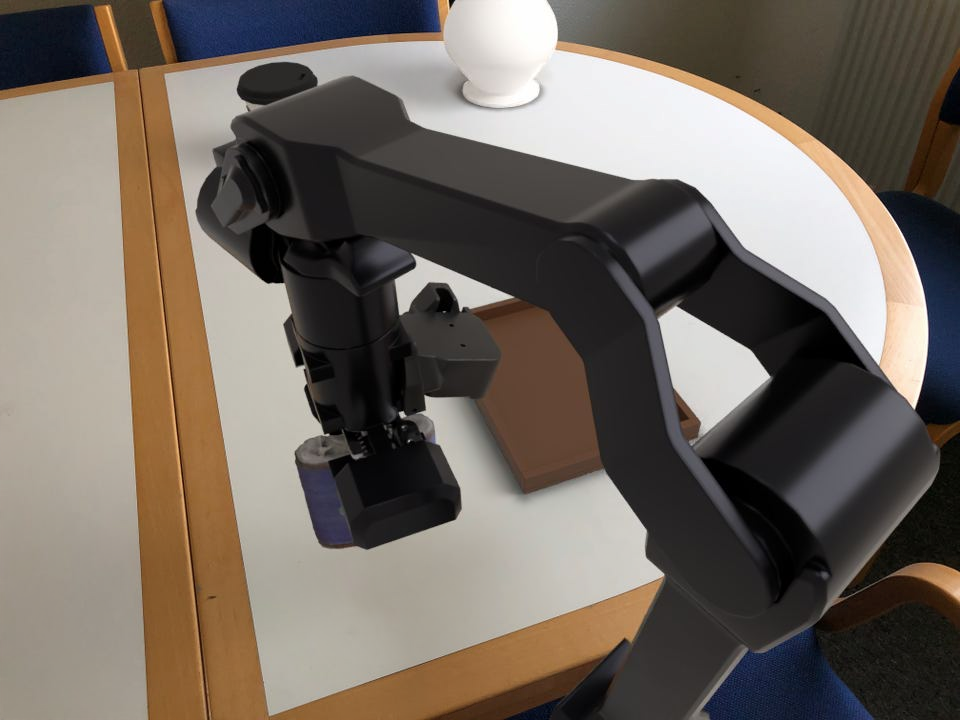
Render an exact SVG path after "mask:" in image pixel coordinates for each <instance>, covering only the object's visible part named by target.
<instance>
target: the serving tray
mask: <svg viewBox="0 0 960 720" xmlns="http://www.w3.org/2000/svg"><path fill="white" fill-rule="evenodd" d="M469 309H470V311H471V312H472V314H473V315H475V316H477V317H478V318H480V319H481V320H482V321H483V323H484V324H485V326H486V327H487V329H488V331H489V332H490V334H491V335H492V337H493V339H494V340H495V342H496V343H497V345H498V347H499V348H500V350H501V352H502V356H501V359H500V361H499V364H498V366H497V369H496V372H495V374H494V377H493V379H492V382H491V384H490V387H489V389H488V392H487V394H486V396H485V397H484V398H481V399H473V400H474V401H475V404H476V405H477V407H478V410H479V411H480V413H481V414H482V417H483V419H484V421H485V422H486V425H487V427H488V428H489V431H490V432H491V433H492V436H493V437H494V439H495V441H496V443H497V445H498V447H499V449H500V451H501V453H502V455H503V456H504V459H505V460H506V462H507V464H508V466H509V467H510V470H511V472H512V474H513V476H514V478H515V479H516V481H517V484H518V485H519V487H520V488H521V491H522V493H523V494H524V495H526V494H530V493H532V492H536V491H539V490H541V489H545V488H548V487H551V486H553V485H558V484H560V483H563V482H565V481H566V482H567V481H569V480H572V479H575V478H578V477H581V476H585V475H587V474H591V473H593V472H597V471H600V470H602V469H604V467H603V464H602V462H601V458H600V452H599V446H598V441H597V435H596V430H595V424H594V418H593V413H592V407H591V402H590V396H589V390H588V385H587V379H586V373H585V368H584V363H583V361H582V359H581V357H580V356H579V354H578V353H577V352H576V350H575V349H574V347H573V346H572V345H571V343H570V342H569V340H568V339H567V338H566V336H565V335H564V333H563V332H562V331H561V329H560V328H559V326H558V325H557V324H556V322H555V321H554V319H553V318H552V317H551V315H550V313H549V312H548V311H546V310H543V309H541V308H539V307H536V306H534V305H532V304H529V303H527V302H525V301H522V300H520V299H517V298H515V297H511V298H507V299H503V300H498V301H495V302H491V303H487V304H484V305H480V306H476V307H472V308H469ZM461 311H462V310H460V313H461ZM673 390H674V394H675V399H676V404H677V408H678V413H679V418H680V423H681V427H682V432H683V434H684V436H685V438H686V439H687V441H688V442H689V441H691V440H694V439H697V438H699V433H700V429H701V425H702V421H701V420H700V419H699V417H698V416H697V415H696V414H695V412H694V411H693V410H692V409H691V408H690V406H689V405H688V404H687V403H686V401H685V400H684V399H683V398H682V396H681V395H680V394H679V392H678V391H677V390H676V388H674V387H673Z"/></svg>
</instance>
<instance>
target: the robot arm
mask: <svg viewBox="0 0 960 720" xmlns="http://www.w3.org/2000/svg"><path fill="white" fill-rule="evenodd" d="M229 127H230V130H231V132H232V133H233V135H234V136H235V140H231V141H229V142H227V143H223V144H221V145H218V146H216V147H214V148H212V150H211V151H212V154H213V159H214V162H215V167H214V168H213V169H212V171H210V173H209V174H208V175H207V176H206V177H205V179H204V181H203V182H202V184H201V186H200V188H199V192H198V196H197V199H196V209H195V217H196V220H197V223H198V225H199V227H200V229H201V230H202V231H203V232H204V234H205V235H206V236H207V237H208V238H209V239H210V240H212V241H213V242H214V243H216V244H217V245H218V246H219V247H220V248H221V249H223V250H224V251H225V252H226V253H228V254H229V255H230V256H232V257H233V258H234V259H235V260H236V261H238V262H239V263H240V264H241V265H242V266H244V268H246V269H247V270H249V271H250V272H251V273H252V274H254V276H256V277H257V278H258V279H259V280H261V281H262V282H263V283H265V284H267V285H270V284H277V285H278V284H279V285H280V284H284V287H285V290H286V295H287V299H288V303H289V307H290V311H291V313H290V314H289V316H288V317H287V318H286V319H285V321H284V322H283V323H282V325H283V330H284V334H285V338H286V342H287V346H288V349H289V351H290V354H291V357H292V361H293V363H294V367H295V368H296V369H297V368H301V367H304V368H302V371H303V374H304V378H305V382H306V384H305V385H304V388H303V391H304V394H305V397H306V400H307V403H308V406H309V410H310V412H311V415H312V416H313V417H314V418H315V420H316V421H317V422H318V424H320V426H321V427H320V428H321V430H322V432H323V436H326V435H328V436H329V435H341V434H343V436H344V438H345V441H346V444H347V447H348V449H349V452H350V454H349V455H345V456H342V457H339V458H336V459H332V460H329V461H328V464H329V467H330V470H331V473H332V476H333V479H334V482H335V485H336V489H337V493H338V496H339V499H340V503H341V506H342V510H343V513H344V516H345V519H346V522H347V525H348V528H349V531H350V534H351V537H352V540H353V543H354V545H355V547H356V546H357V547H356V548H360V549H363V550H366V551H369V550H371V549H374V548H378V547H380V546H383V545H387V544H389V543H392V542H395V541H398V540H401V539H404V538H406V537H409V536H412V535H415V534H418V533H422V532H424V531H427V530H430V529H433V528H435V527H439V526H442V525H445V524H447V523H451V522H454V521H456V520H457V518H458V517H459V515H460V513H461V511H462V510H463V506H462V505H463V503H462V491H461V486H460V485H459V482H458V480H457V478H456V476H455V474H454V472H453V470H452V467H451V466H450V464H449V462H448V459H447V457H446V455H445V452H444V450H443V449H442V446H441V445H440V444H438V443H436V444H435V443H432V442H429V441H427V440H426V438H425V435H424V433H423V432H420V431H419V429H418V427H417V425H416V423H415V422H414V421H412V420H409V419H402V418H403V417H402V416H401V414H400V413H402V412H403V414H404V416H405V417H406V416H410V415H413V414H419V413H422V412H426V411H427V405H426V397H429V398H435V399H444V398H445V399H446V398H469V399H470V400H474V399H481V398H484V397H485V396H486V394H487V392H488V389H489V387H490V384H491V382H492V379H493V377H494V374H495V372H496V369H497V366H498V364H499V361H500V359H501V356H502V352H501V350H500V348H499V347H498V345H497V343H496V342H495V340H494V339H493V337H492V335H491V334H490V332H489V331H488V329H487V327H486V326H485V324H484V323H483V321H482V320H481V319H480V318H478V317H477V316H475V315H473V314H472V312H471V311H470V309H471V308H470V307H469V306H462V308H461V309H460V304H459V300H458V297H457V296H456V294H455V292H454V291H453V289H452V288H451V286H450V284H449V283H447V282H437V281H436V282H435V281H428V283H426V285H425V286H424V287H423V288H422V290H420V291H419V293H418V294H417V295H416V296H415V297H414V298H413V300H411V303H410V304H409V305H410V306H409V308H408V311H405V312H403V313H402V314H400V309H399V300H398V292H397V285H396V280H397V279H398V278H400V277H402V276H404V275H406V274H408V273H409V272H411V271H413V270H415V269H416V268H417V260H416V258H415V256H417V257H419V258H421V259H424V260H426V261H429V262H431V263H433V264H436V265H438V266H440V267H442V268H445V269H447V270H449V271H451V272H454V273H457V274H458V275H461V276H464V277H466V278H468V279H471V280H473V281H476V282H477V283H480V284H483V285H485V286H487V287H489V288H492V289H494V290H496V291H499V292H501V293H503V294H506V295H507V296H510V297H512V298H514V297H515V298H517V299H520V300H522V301H525V302H527V303H529V304H532V305H534V306H536V307H539V308H541V309H543V310H546V311H548V312H549V313H550V315H551V317H552V318H553V319H554V321H555V322H556V324H557V325H558V326H559V328H560V329H561V331H562V332H563V333H564V335H565V336H566V338H567V339H568V340H569V342H570V343H571V345H572V346H573V347H574V349H575V350H576V352H577V353H578V354H579V356H580V357H581V359H582V361H583V363H584V368H585V373H586V379H587V385H588V390H589V396H590V402H591V407H592V413H593V418H594V424H595V430H596V435H597V441H598V446H599V452H600V458H601V462H602V464H603V467H604V468H603V469H604V471H605V474H606V475H607V477H608V478H609V479H610V481H611V482H612V484H613V485H614V487H615V488H616V489H617V491H618V492H619V493H620V495H621V496H622V498H623V499H624V500H625V502H626V504H627V505H628V506H629V508H630V509H631V510H632V512H633V513H634V515H635V516H636V517H637V519H638V520H639V522H640V523H641V525H642V526H643V527H644V529H645V530H646V533H645V542H644V553H645V558H646V560H648V561H649V562H650V563H651V564H652V565H654V566H655V568H657V569H658V570H659V571H660V572H661V573H663V579H662V581H661V583H660V584H659V587H658V588H657V590H656V593H655V595H654V597H653V599H652V601H651V603H650V605H649V606H648V609H647V611H646V613H645V614H644V616H643V618H642V621H641V623H640V625H639V627H638V629H637V631H636V632H635V634H634V636H633V639H632V641H630V640H629V639H628V638H626V637H623V638H622V639H621V641H619V643H617V645H615V646H614V647H613V649H612V650H610V651H609V652H608V653H607V654H606V655H605V656H604V657H603V658H602V659H601V661H599V662H598V663H597V664H596V665H595V666H594V667H593V668H592V670H590V671H589V672H588V674H586V675H585V676H584V677H583V678H582V679H581V680H580V681H579V682H578V683H577V684H576V685H575V686H574V687H573V688H572V689H571V690H570V692H569V693H567V694H566V695H565V696H564V697H563V698H562V699H561V701H559V702H558V703H557V704H556V705H555V706H554V708H553V709H552V711H551V714H550V716H549V719H548V720H711V718H710V714H709V712H707V710H706V709H705V708H704V707H705V706H706V704H707V703H708V702H709V701H710V699H711V698H712V697H713V696H714V694H715V693H716V692H717V691H718V689H719V688H720V686H722V684H723V683H724V682H725V680H726V679H727V678H728V676H729V675H730V674H731V673H732V672H733V670H734V669H735V668H736V667H737V665H738V664H739V663H740V661H741V660H742V658H744V656H745V655H746V653H748V651H750V653H753V654H754V653H755V654H764V653H766V652H768V651H769V650H772V649H773V648H775V647H777V646H778V645H780V644H782V643H784V642H786V641H788V640H790V639H791V638H793V637H795V636H797V635H799V634H800V633H802V632H804V631H806V630H808V629H809V628H811V627H812V626H814V625H815V624H817V622H819V621H820V620H821V618H822V617H823V616H824V615H825V613H826V612H827V611H828V610H829V609H830V608H831V607H832V605H833V604H834V603H835V602H836V601H837V599H838V598H839V597H840V596H841V594H842V593H843V592H844V591H845V589H846V588H847V587H848V586H849V585H850V584H851V583H852V581H853V580H854V579H855V578H856V576H857V575H858V574H859V573H860V572H861V570H862V569H863V568H864V567H865V565H866V564H867V563H868V562H869V561H870V559H871V558H872V557H873V556H874V555H875V553H877V551H878V550H879V549H880V547H882V545H883V544H884V542H886V540H887V539H888V538H889V536H891V534H892V533H893V532H894V530H895V529H896V528H897V527H898V526H899V525H900V523H901V522H902V521H903V520H904V519H905V517H906V516H907V515H908V514H909V512H911V510H912V509H913V508H914V506H915V505H916V504H917V503H918V502H919V500H920V499H921V498H922V497H923V495H925V493H926V492H927V491H928V490H929V488H930V487H931V486H932V484H933V482H934V480H935V478H936V476H937V474H938V472H939V470H940V464H941V463H940V461H941V450H940V447H939V446H938V445H937V444H936V443H935V442H934V441H932V439H931V436H930V433H929V431H928V428H927V425H926V423H925V422H924V420H923V418H921V416H920V415H919V414H918V412H917V411H916V409H915V408H914V407H913V406H912V404H910V402H909V400H908V399H907V398H906V397H905V396H904V395H903V394H901V393H900V392H899V391H898V390H897V388H896V386H894V384H893V383H892V381H891V380H890V379H889V377H888V376H887V375H886V374H885V372H884V371H883V369H882V368H881V367H880V366H879V364H878V363H877V361H876V360H875V359H874V358H873V355H872V354H871V353H870V352H869V351H868V349H867V347H865V344H864V343H862V341H861V340H860V339H859V337H858V336H857V334H856V333H855V332H854V330H853V329H852V327H851V326H850V325H849V324H848V322H847V321H846V320H845V318H844V317H843V315H842V313H840V311H839V310H838V309H837V308H836V306H835V305H834V304H832V303H831V302H830V301H829V300H828V299H827V298H826V297H825V296H823V295H821V294H820V293H818V292H816V291H814V290H813V289H811V288H810V287H808V286H807V285H805V284H804V283H802V282H800V281H798V280H797V279H795V278H793V276H790V275H788V273H786V272H784V271H783V270H781V269H779V268H777V267H775V266H774V265H772V264H771V263H769V262H767V261H766V260H764V259H762V258H761V257H760V256H758V255H756V254H755V253H753V252H752V251H750V250H748V249H746V247H744V245H743V244H742V243H741V241H740V240H739V239H738V237H737V236H736V235H735V232H733V231H732V229H731V228H730V226H729V225H728V223H727V222H726V221H725V219H724V218H723V217H722V216H721V214H720V213H719V212H718V210H717V208H715V206H714V205H713V203H712V202H711V201H710V200H709V199H708V198H707V197H706V196H705V195H704V194H703V193H702V192H700V191H699V190H698V188H697V187H695V186H694V185H691V184H689V183H686V182H685V181H683V180H680V179H678V178H647V179H631V178H627V177H622V176H619V175H615V174H612V173H607V172H603V171H599V170H596V169H592V168H587V167H582V166H579V165H575V164H570V163H567V162H562V161H558V160H554V159H550V158H546V157H543V156H539V155H534V154H531V153H528V152H527V153H526V152H522V151H518V150H514V149H510V148H506V147H502V146H499V145H494V144H490V143H486V142H481V141H478V140H473V139H469V138H466V137H463V136H462V137H461V136H458V135H455V134H449V133H447V132H446V133H445V132H442V131H438V130H435V129H430V128H427V127H424V126H422V125H419V124H418V123H415V122H413V121H411V119H410V116H409V114H408V111H407V107H406V105H405V103H404V100H403V99H402V98H401V97H399V96H398V95H396V94H395V93H392V92H390V91H388V90H387V89H384V88H382V87H379V86H377V85H375V84H374V83H371V82H370V81H367V80H365V79H364V78H361V77H359V76H356V75H343V76H341V77H340V76H339V77H338V78H335V79H333V80H330V81H327V82H324V83H322V84H319V85H317V86H316V87H314V88H311V89H308V90H305V91H303V92H300V93H297V94H295V95H292V96H289V97H287V98H284V99H281V100H278V101H276V102H273V103H270V104H268V105H265V106H262V107H260V108H257V109H254V110H251V111H249V112H248V111H246V112H244V113H240V114H238V115H235V117H233V118H232V119H231V123H230V126H229ZM675 307H677V308H679V309H680V310H682V311H683V312H685V313H687V314H688V315H690V316H692V317H694V318H695V319H697V320H699V321H700V322H702V323H704V324H706V325H707V326H708V327H710V328H712V329H714V330H716V331H717V332H719V333H720V334H723V335H724V336H726V337H728V338H729V339H731V340H733V341H734V342H736V343H737V344H740V345H741V346H743V347H744V348H746V349H748V350H749V351H751V352H752V354H753V355H754V357H755V358H756V359H757V360H758V362H759V364H760V365H761V366H762V367H763V369H764V371H765V372H766V373H767V374H768V376H769V378H767V380H765V381H764V382H762V384H760V386H758V387H757V388H756V389H755V390H754V391H752V392H751V393H750V394H749V395H748V396H747V397H745V399H743V400H742V401H741V402H740V403H739V404H737V405H736V406H735V407H734V408H733V409H732V410H731V411H730V412H729V413H728V414H726V415H725V416H723V418H721V420H719V421H718V422H717V423H716V424H715V425H714V426H712V427H711V428H710V429H709V430H708V431H707V432H705V434H703V435H702V436H701V437H700V438H699V439H698V440H696V441H695V442H694V443H693V444H691V443H690V442H689V440H688V441H687V439H686V438H685V436H684V434H683V432H682V427H681V423H680V418H679V413H678V408H677V404H676V399H675V394H674V390H673V388H674V385H673V381H672V375H671V371H670V366H669V362H668V357H667V352H666V347H665V342H664V338H663V334H662V328H661V324H660V321H659V320H660V318H662V317H663V316H664V315H666V314H667V313H668V312H670V311H671V310H673V309H675ZM460 311H461V313H460ZM425 396H426V397H425ZM385 425H386V429H385V428H384V426H385ZM390 429H392V434H391V432H390ZM361 432H365V436H362V434H361Z"/></svg>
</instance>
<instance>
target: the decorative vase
mask: <svg viewBox="0 0 960 720" xmlns="http://www.w3.org/2000/svg"><path fill="white" fill-rule="evenodd" d="M558 28H559V27H558V22H557V18H556V15H555V13H554V10H553V8H552V7H551V5H550V4H549V2H548V0H454V1H453V3H452V5H451V7H450V9H449V11H448V12H447V15H446V17H445V20H444V25H443V31H442V32H443V33H442V34H443V37H442V38H443V45H444V49H445V52H446V54H447V55H448V57H449V58H450V60H451V61H452V62H453V64H454V65H455V67H456V68H457V69H458V70H459V71H460V72H461V73H462V74H463V76H465V77H466V78H467V80H466V81H465V82H464V84H463V85H462V94H463V97H464V98H465V100H466V101H468V102H470V103H472V104H474V105H477V106H480V107H485V108H491V109H492V108H493V109H506V108H507V109H508V108H515V107H520V106H523V105H526V104H528V103H530V102H532V101H534V100H535V99H536V98H537V97H538V96H539V94H540V84H539V82H538V81H537V80H536V79H535V77H536V76H537V75H538V74H539V72H541V70H542V69H543V68H544V67H545V65H546V64H547V63H548V62H549V60H550V59H551V57H552V56H553V54H554V52H555V50H556V47H557V44H558V40H559V39H558V37H559V29H558Z"/></svg>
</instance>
